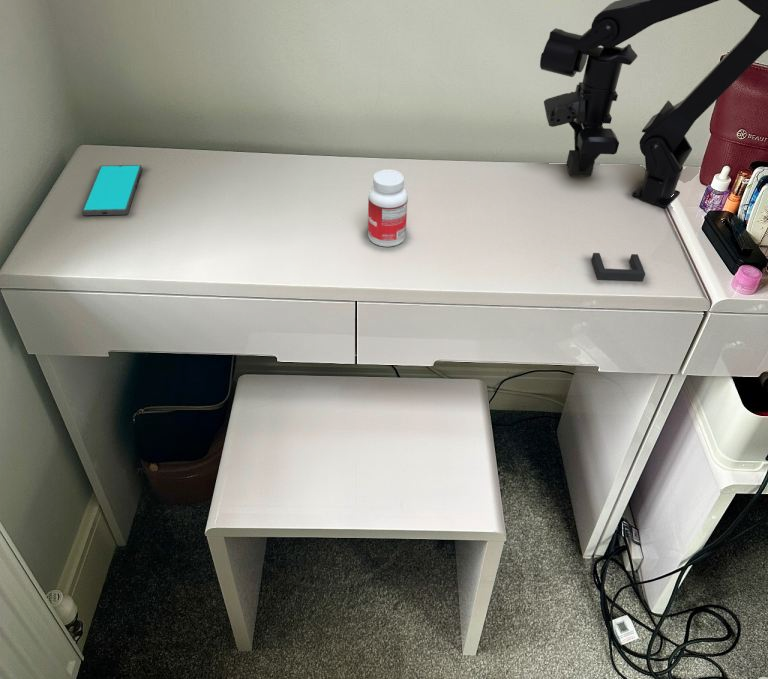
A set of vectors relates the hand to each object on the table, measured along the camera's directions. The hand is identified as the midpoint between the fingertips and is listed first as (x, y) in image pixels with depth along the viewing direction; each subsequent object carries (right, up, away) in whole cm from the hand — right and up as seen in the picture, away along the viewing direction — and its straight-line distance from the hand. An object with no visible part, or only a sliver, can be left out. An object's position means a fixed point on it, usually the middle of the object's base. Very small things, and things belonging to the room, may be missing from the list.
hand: (579, 165), depth 131 cm
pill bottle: (-36, -16, -16) cm, 42 cm away
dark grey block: (0, -1, +1) cm, 1 cm away
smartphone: (-83, -7, -8) cm, 84 cm away
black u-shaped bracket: (0, -22, -21) cm, 30 cm away
